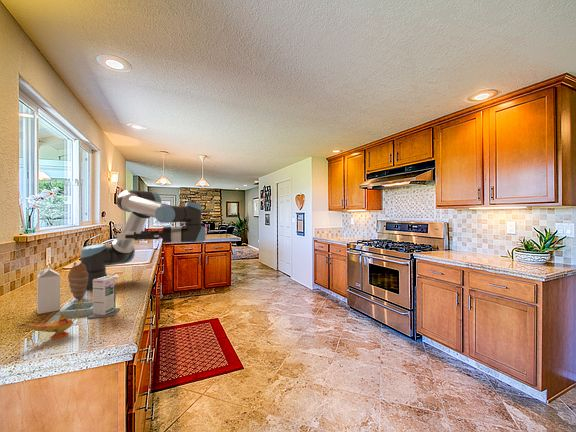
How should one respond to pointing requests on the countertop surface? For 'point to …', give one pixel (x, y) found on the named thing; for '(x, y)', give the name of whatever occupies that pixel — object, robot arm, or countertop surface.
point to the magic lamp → (56, 325)
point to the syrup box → (104, 295)
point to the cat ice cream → (78, 280)
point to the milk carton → (48, 291)
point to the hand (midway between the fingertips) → (121, 235)
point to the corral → (70, 312)
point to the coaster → (103, 315)
